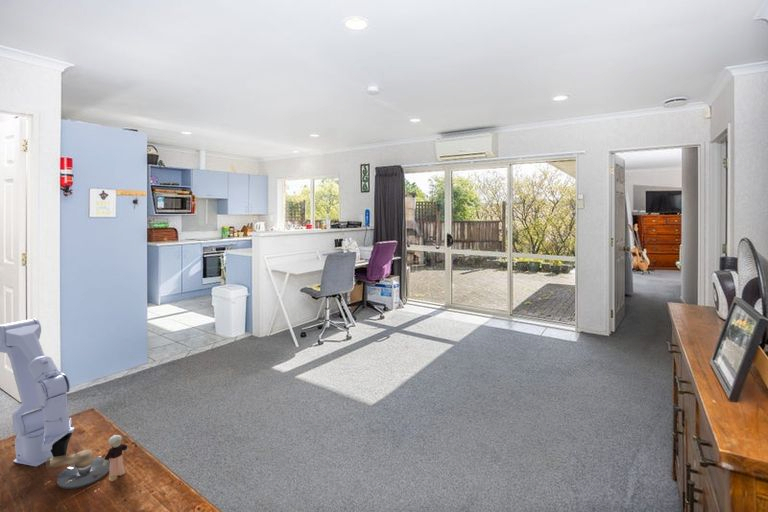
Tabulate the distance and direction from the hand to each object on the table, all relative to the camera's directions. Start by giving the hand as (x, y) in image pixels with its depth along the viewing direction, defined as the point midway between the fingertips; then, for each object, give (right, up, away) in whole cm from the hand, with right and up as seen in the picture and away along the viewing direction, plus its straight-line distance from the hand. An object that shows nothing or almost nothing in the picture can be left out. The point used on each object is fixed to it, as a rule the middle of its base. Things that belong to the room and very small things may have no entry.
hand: (60, 459), depth 121 cm
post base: (+7, -5, +1) cm, 8 cm away
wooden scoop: (+3, -1, -1) cm, 4 cm away
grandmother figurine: (+17, -5, +1) cm, 18 cm away
